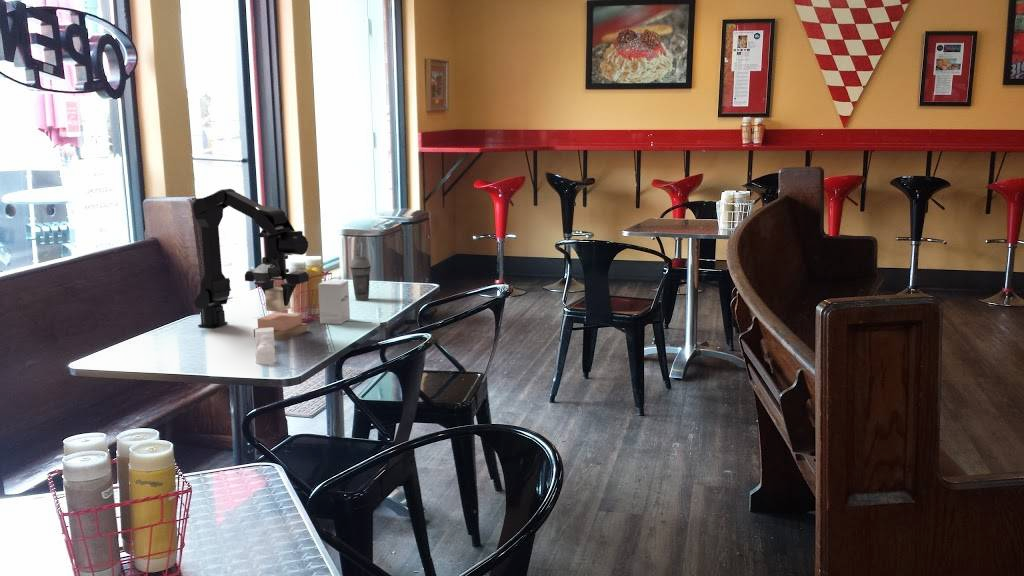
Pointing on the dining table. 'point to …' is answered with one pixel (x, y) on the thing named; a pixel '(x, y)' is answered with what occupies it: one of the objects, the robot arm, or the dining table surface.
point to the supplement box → (334, 301)
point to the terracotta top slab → (280, 321)
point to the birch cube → (275, 300)
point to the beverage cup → (361, 276)
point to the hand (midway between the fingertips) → (278, 305)
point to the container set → (265, 345)
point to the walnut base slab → (289, 332)
